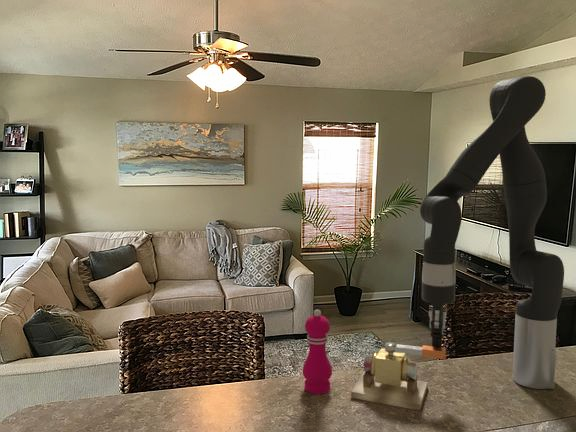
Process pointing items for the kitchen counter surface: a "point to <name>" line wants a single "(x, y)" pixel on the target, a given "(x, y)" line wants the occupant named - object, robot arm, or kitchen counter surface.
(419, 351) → the lever
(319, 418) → the kitchen counter surface
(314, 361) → the pepper mill
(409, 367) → the ball valve
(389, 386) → the board
